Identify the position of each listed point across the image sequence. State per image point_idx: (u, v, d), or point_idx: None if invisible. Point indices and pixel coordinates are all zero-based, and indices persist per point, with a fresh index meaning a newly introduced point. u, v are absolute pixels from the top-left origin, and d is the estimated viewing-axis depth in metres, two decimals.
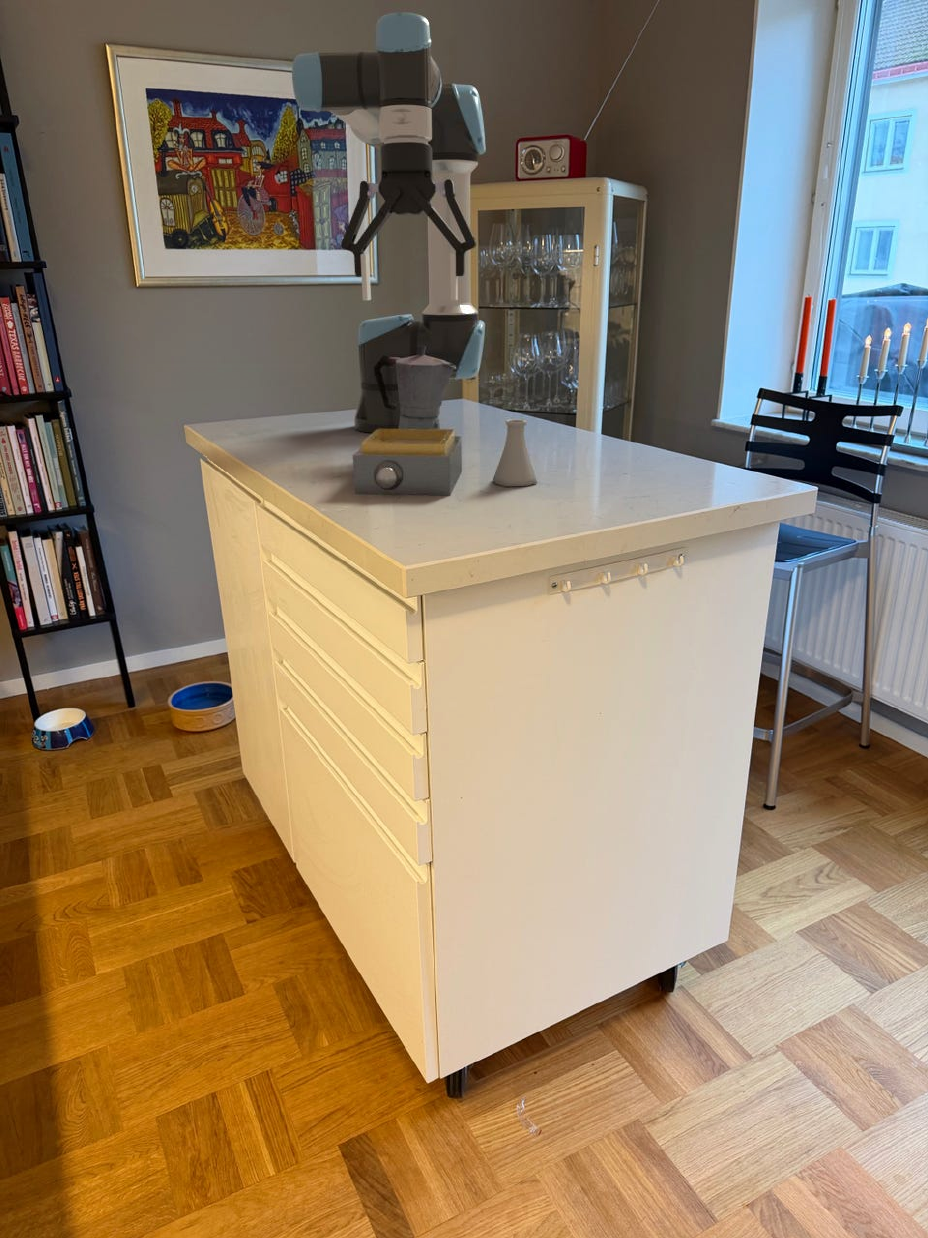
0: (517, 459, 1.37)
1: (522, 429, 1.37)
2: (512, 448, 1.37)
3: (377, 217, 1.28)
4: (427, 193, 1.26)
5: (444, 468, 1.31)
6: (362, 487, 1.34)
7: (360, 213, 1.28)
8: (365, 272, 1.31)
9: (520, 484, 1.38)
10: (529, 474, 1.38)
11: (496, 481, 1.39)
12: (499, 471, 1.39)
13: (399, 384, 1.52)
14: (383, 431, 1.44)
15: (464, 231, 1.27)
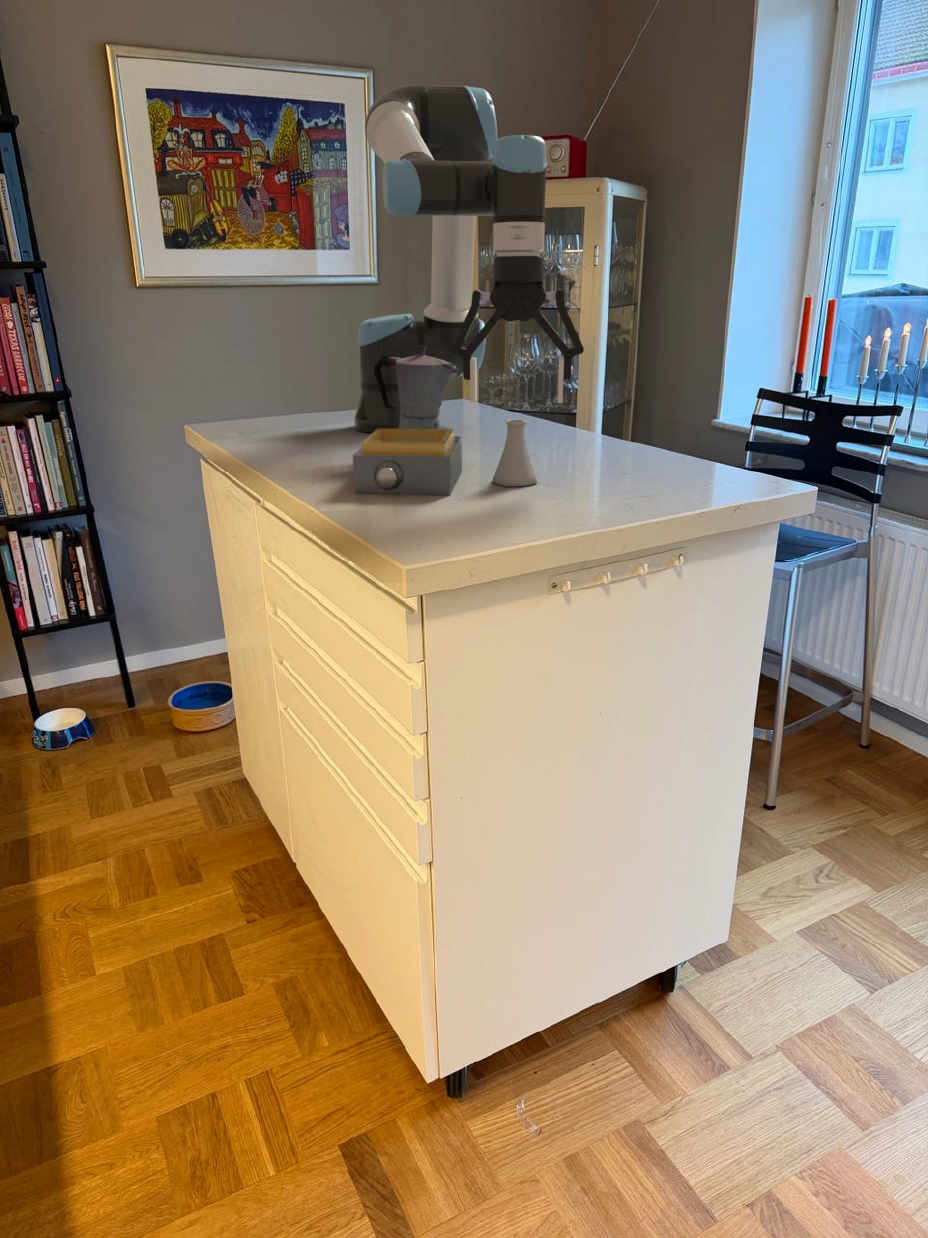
0: (517, 459, 1.37)
1: (522, 429, 1.37)
2: (512, 448, 1.37)
3: (488, 324, 1.31)
4: (538, 302, 1.29)
5: (444, 468, 1.31)
6: (362, 487, 1.34)
7: (471, 320, 1.31)
8: (474, 376, 1.34)
9: (520, 484, 1.38)
10: (529, 474, 1.38)
11: (496, 481, 1.39)
12: (499, 471, 1.39)
13: (399, 384, 1.52)
14: (383, 431, 1.44)
15: (573, 338, 1.30)
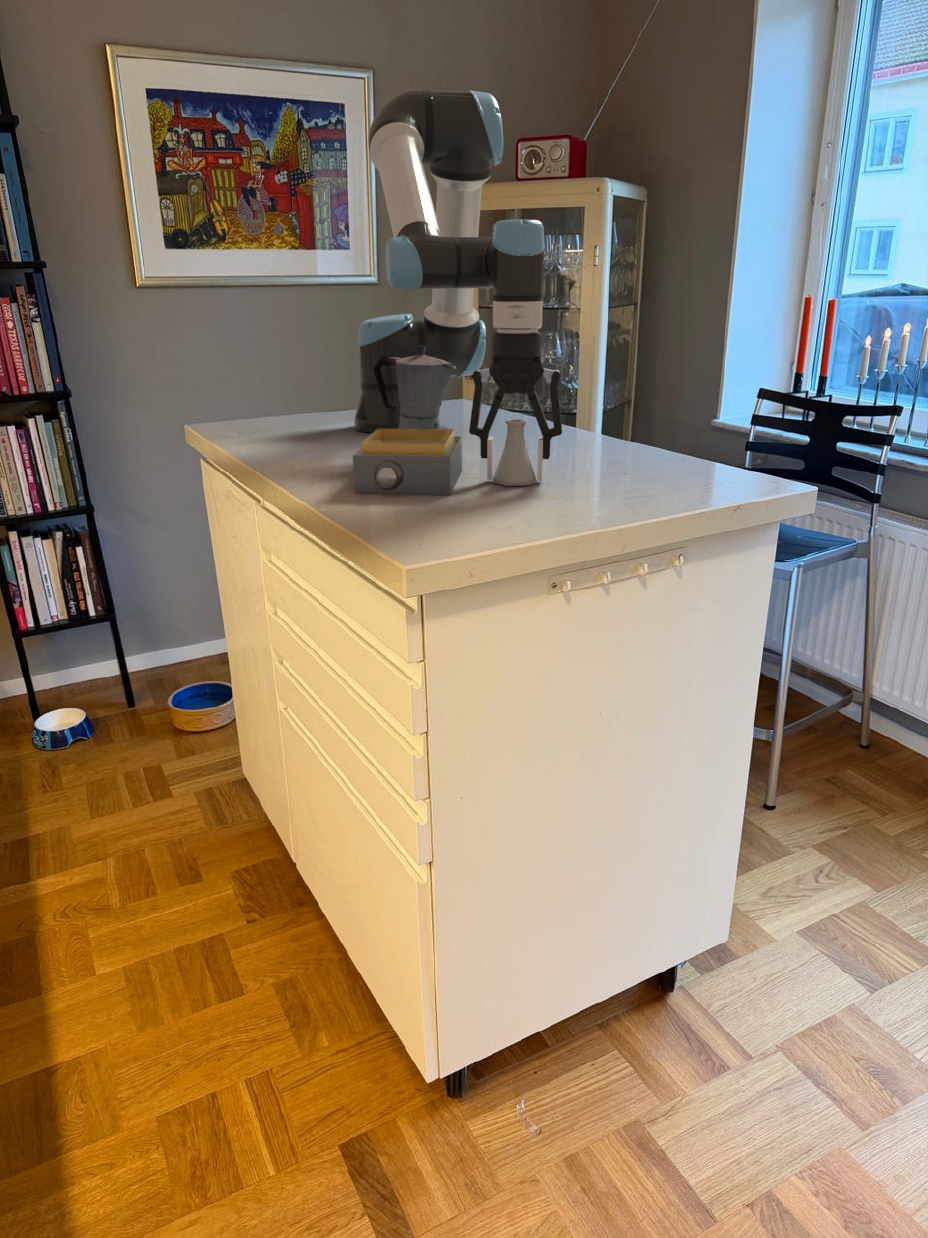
0: (517, 459, 1.37)
1: (522, 429, 1.37)
2: (512, 448, 1.37)
3: (495, 402, 1.35)
4: (534, 376, 1.33)
5: (444, 468, 1.31)
6: (362, 487, 1.34)
7: (479, 399, 1.35)
8: (491, 455, 1.38)
9: (520, 484, 1.38)
10: (529, 474, 1.38)
11: (496, 481, 1.39)
12: (499, 471, 1.39)
13: (399, 384, 1.52)
14: (383, 431, 1.44)
15: (555, 419, 1.35)
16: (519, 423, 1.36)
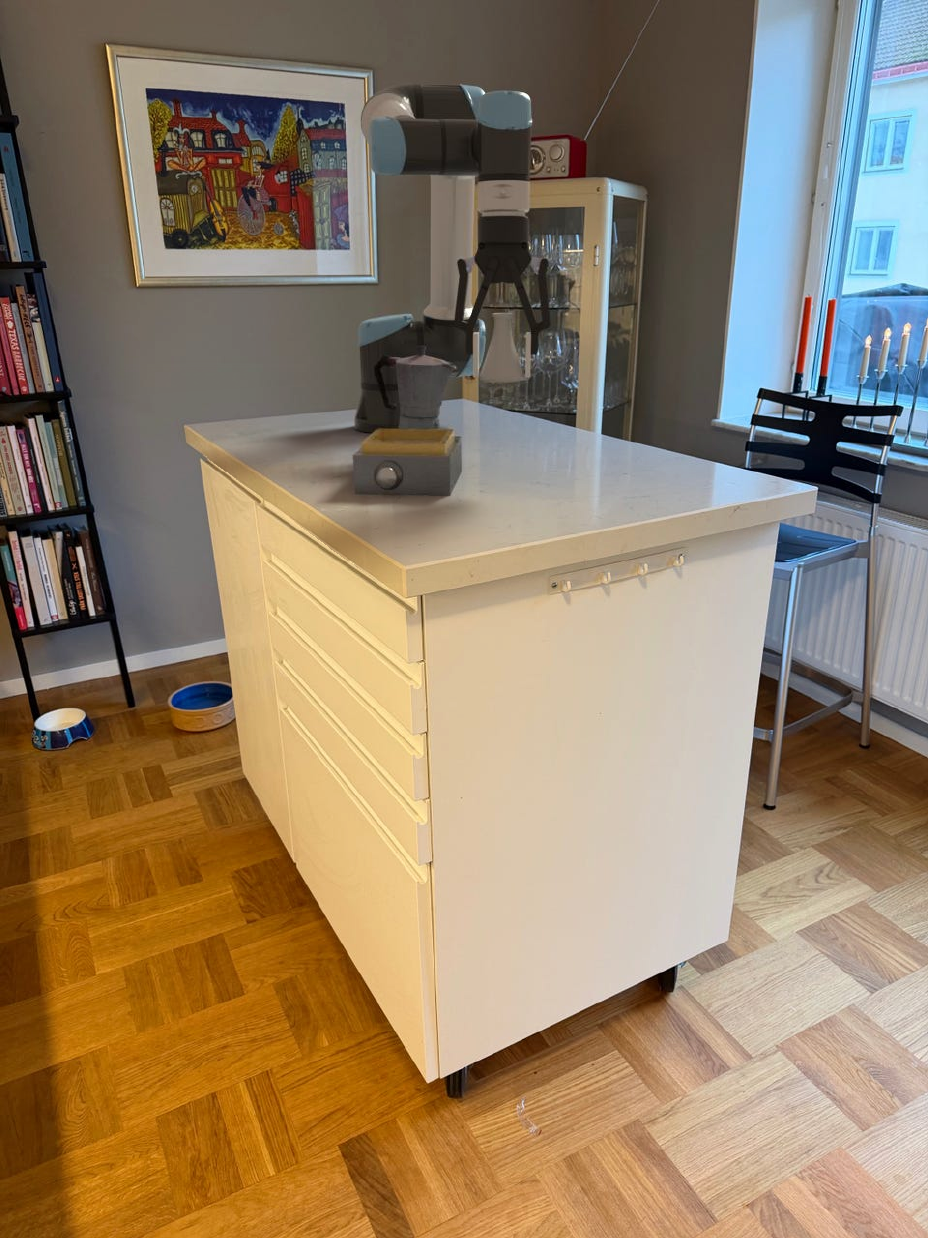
0: (504, 354, 1.31)
1: (509, 322, 1.31)
2: (499, 342, 1.31)
3: (481, 292, 1.29)
4: (521, 263, 1.27)
5: (444, 468, 1.31)
6: (362, 487, 1.34)
7: (464, 290, 1.29)
8: (477, 350, 1.32)
9: (507, 380, 1.32)
10: (517, 370, 1.33)
11: (482, 378, 1.33)
12: (485, 367, 1.33)
13: (399, 384, 1.52)
14: (383, 431, 1.44)
15: (544, 311, 1.30)
16: (506, 315, 1.30)
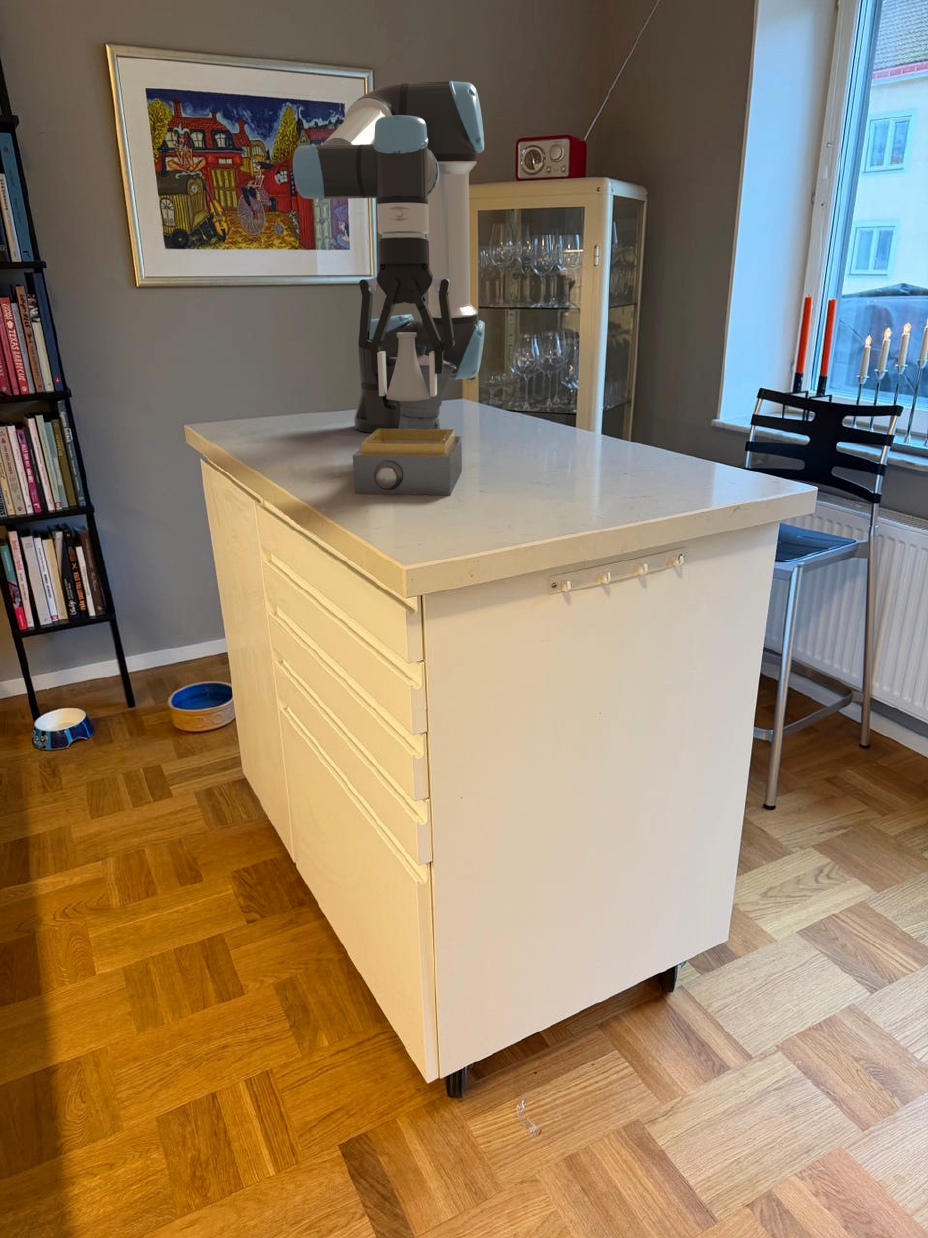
0: (408, 372, 1.33)
1: (413, 341, 1.32)
2: (402, 361, 1.33)
3: (383, 312, 1.31)
4: (422, 284, 1.29)
5: (444, 468, 1.31)
6: (362, 487, 1.34)
7: (367, 310, 1.31)
8: (382, 369, 1.34)
9: (411, 398, 1.33)
10: (421, 389, 1.34)
11: (388, 396, 1.35)
12: (390, 386, 1.34)
13: None
14: (383, 431, 1.44)
15: (446, 330, 1.31)
16: (409, 335, 1.31)
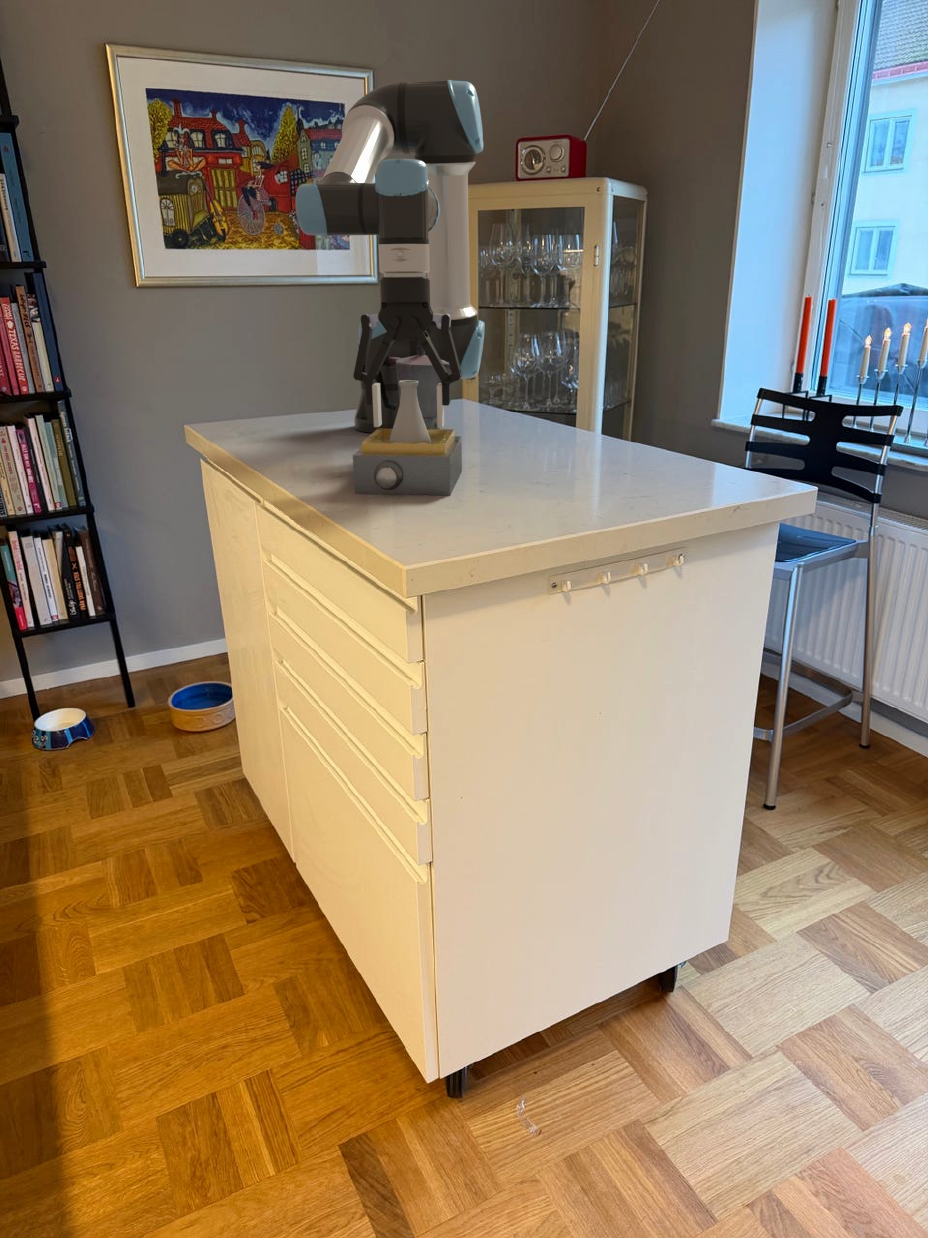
0: (409, 420, 1.36)
1: (414, 390, 1.35)
2: (404, 409, 1.36)
3: (382, 347, 1.33)
4: (424, 322, 1.31)
5: (444, 468, 1.31)
6: (362, 487, 1.34)
7: (366, 344, 1.33)
8: (376, 401, 1.36)
9: None
10: (422, 436, 1.37)
11: None
12: (392, 432, 1.37)
13: None
14: (383, 431, 1.44)
15: (452, 364, 1.33)
16: (410, 384, 1.34)
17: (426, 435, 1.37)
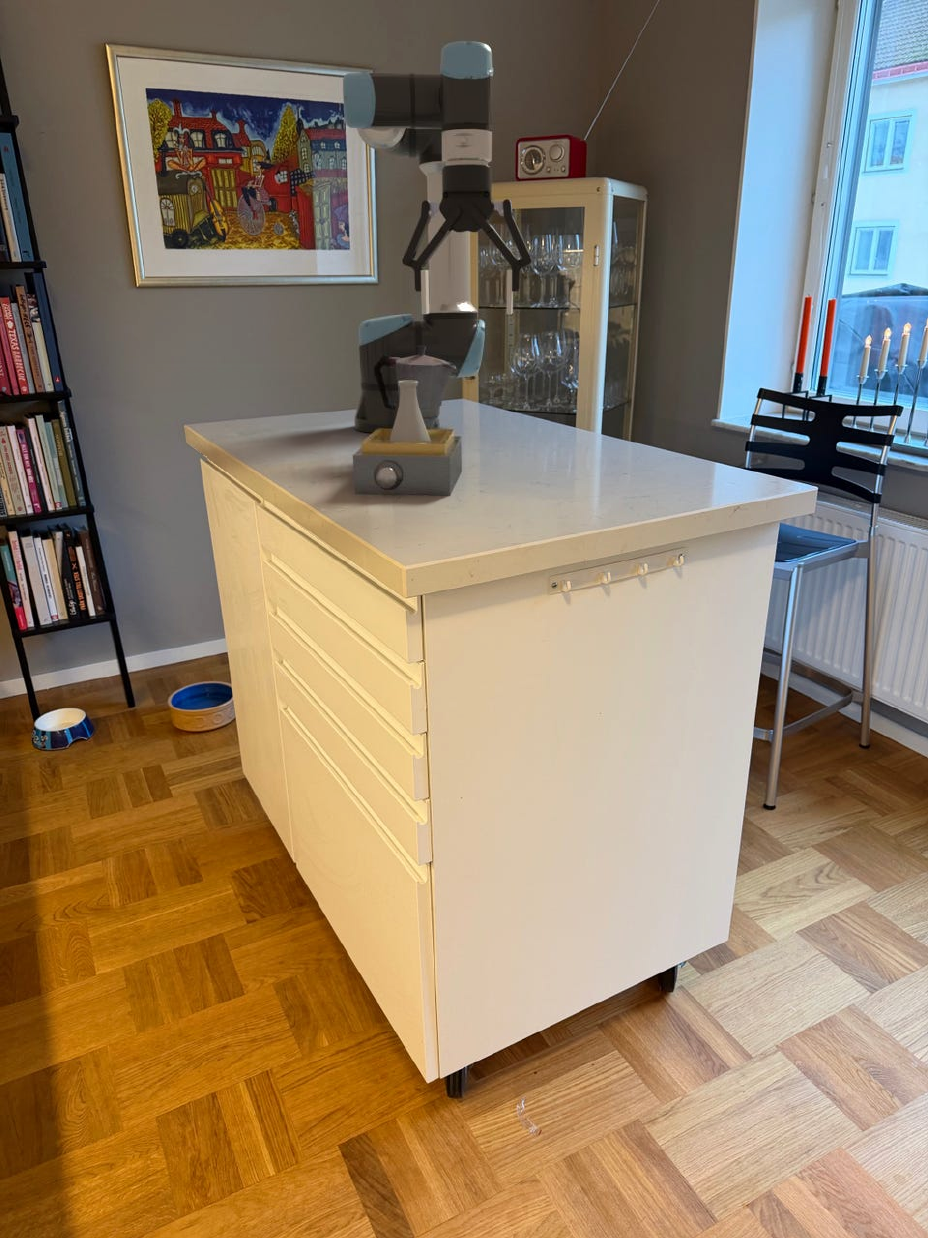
0: (409, 420, 1.36)
1: (414, 390, 1.35)
2: (404, 409, 1.36)
3: (437, 235, 1.33)
4: (486, 212, 1.31)
5: (444, 468, 1.31)
6: (362, 487, 1.34)
7: (421, 231, 1.33)
8: (425, 287, 1.36)
9: None
10: (422, 436, 1.37)
11: None
12: (392, 433, 1.37)
13: None
14: (383, 431, 1.44)
15: (521, 249, 1.33)
16: (410, 384, 1.34)
17: (426, 435, 1.37)
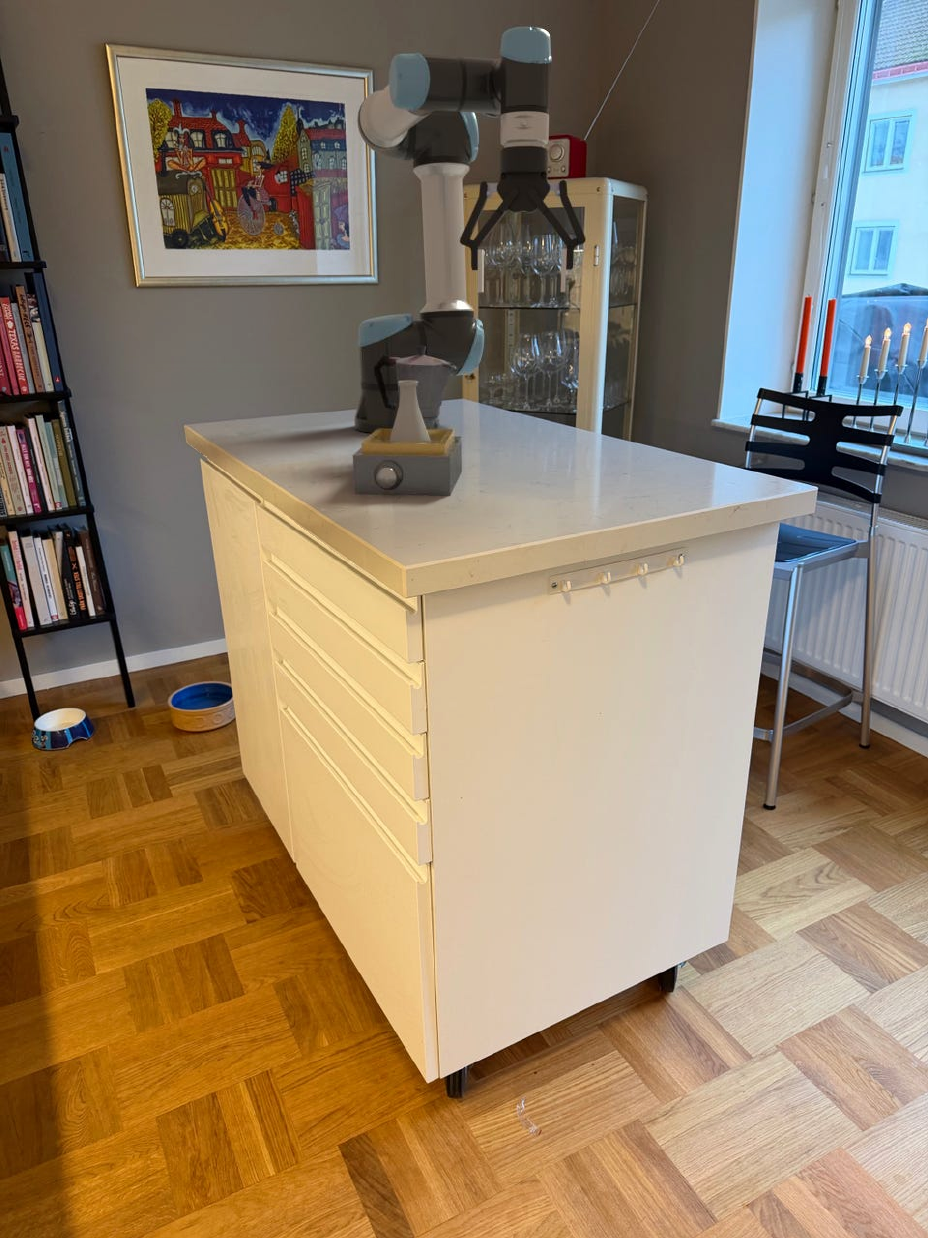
0: (409, 420, 1.36)
1: (414, 390, 1.35)
2: (404, 409, 1.36)
3: (495, 215, 1.38)
4: (542, 193, 1.36)
5: (444, 468, 1.31)
6: (362, 487, 1.34)
7: (479, 211, 1.38)
8: (481, 266, 1.41)
9: None
10: (422, 436, 1.37)
11: None
12: (392, 433, 1.37)
13: None
14: (383, 431, 1.44)
15: (576, 228, 1.37)
16: (410, 384, 1.34)
17: (426, 435, 1.37)
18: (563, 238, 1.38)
